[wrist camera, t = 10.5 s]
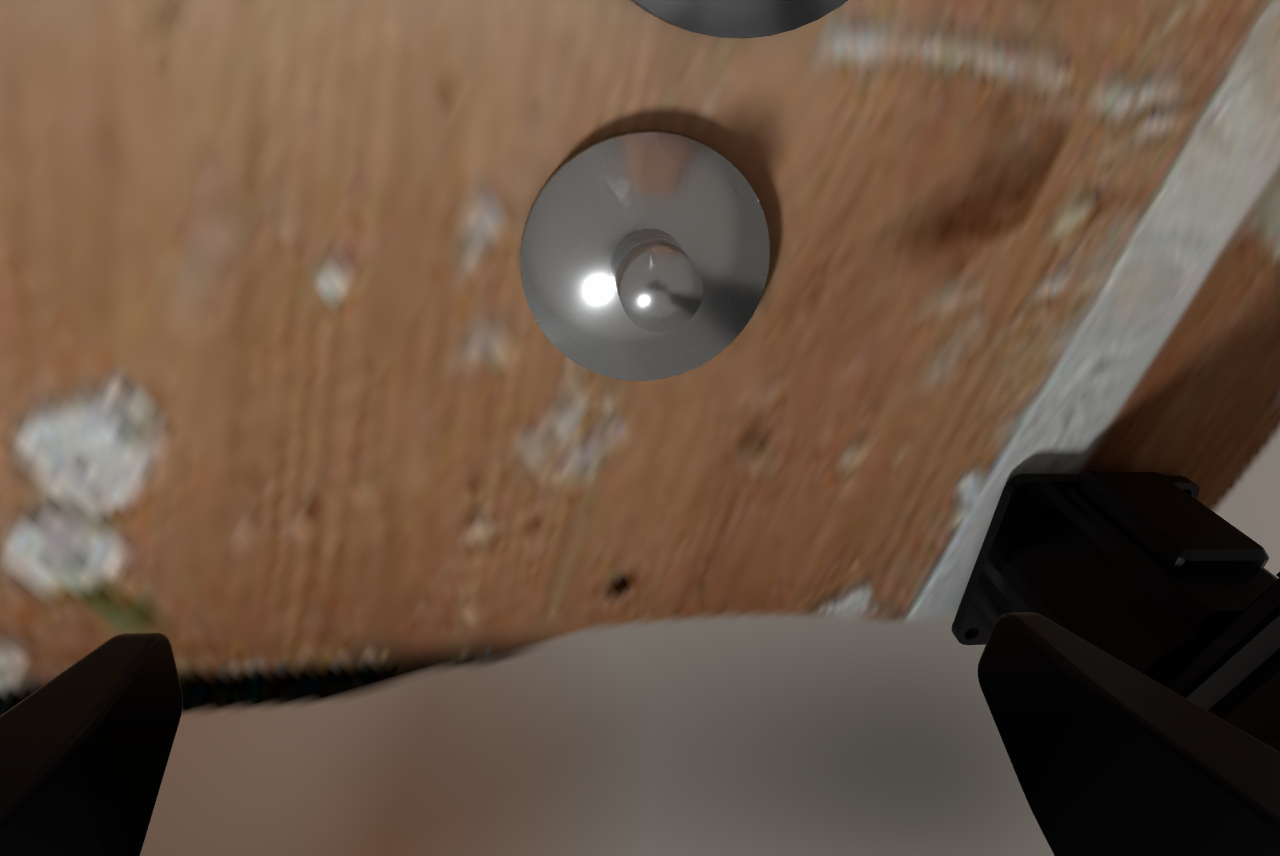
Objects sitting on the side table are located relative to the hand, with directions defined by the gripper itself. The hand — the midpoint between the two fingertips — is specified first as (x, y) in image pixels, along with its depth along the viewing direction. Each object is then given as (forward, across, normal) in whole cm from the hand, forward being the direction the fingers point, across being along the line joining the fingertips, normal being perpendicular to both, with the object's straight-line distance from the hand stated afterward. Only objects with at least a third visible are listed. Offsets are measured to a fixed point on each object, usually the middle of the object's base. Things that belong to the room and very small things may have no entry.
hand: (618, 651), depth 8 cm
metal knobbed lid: (+12, -2, -1) cm, 12 cm away
